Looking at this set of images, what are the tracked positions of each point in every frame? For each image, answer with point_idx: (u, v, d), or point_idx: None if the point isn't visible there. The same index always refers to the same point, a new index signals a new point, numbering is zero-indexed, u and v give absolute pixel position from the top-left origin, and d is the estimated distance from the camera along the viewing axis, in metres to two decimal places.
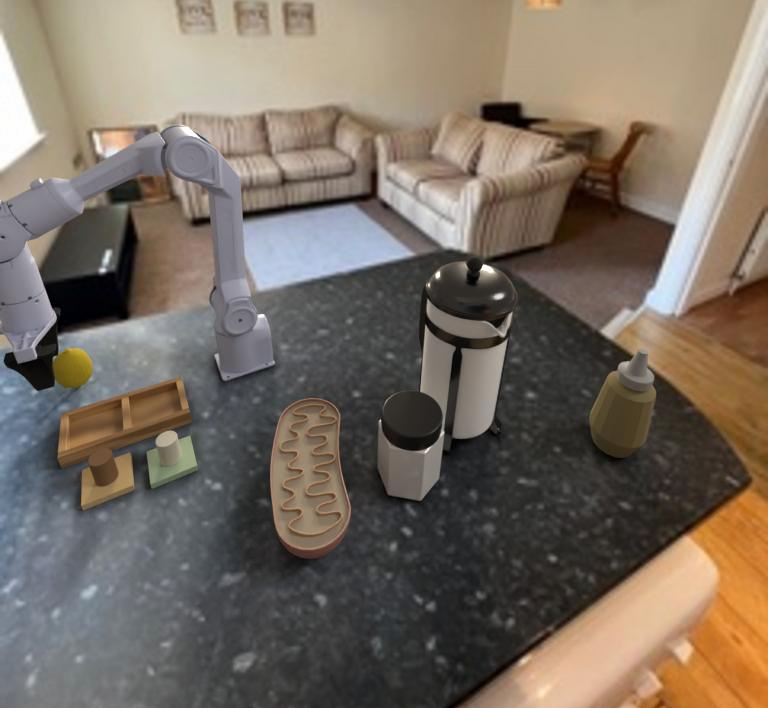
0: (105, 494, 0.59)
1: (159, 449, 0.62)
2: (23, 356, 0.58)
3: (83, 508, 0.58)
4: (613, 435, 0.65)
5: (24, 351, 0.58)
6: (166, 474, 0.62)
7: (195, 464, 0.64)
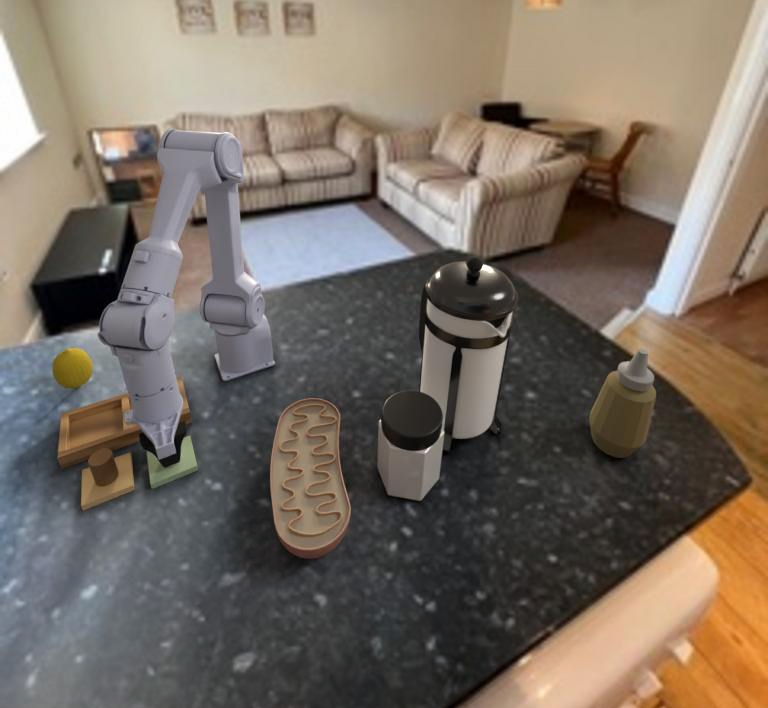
0: (105, 494, 0.59)
1: None
2: (164, 452, 0.55)
3: (83, 508, 0.58)
4: (613, 435, 0.65)
5: (166, 447, 0.55)
6: (166, 474, 0.62)
7: (195, 464, 0.64)
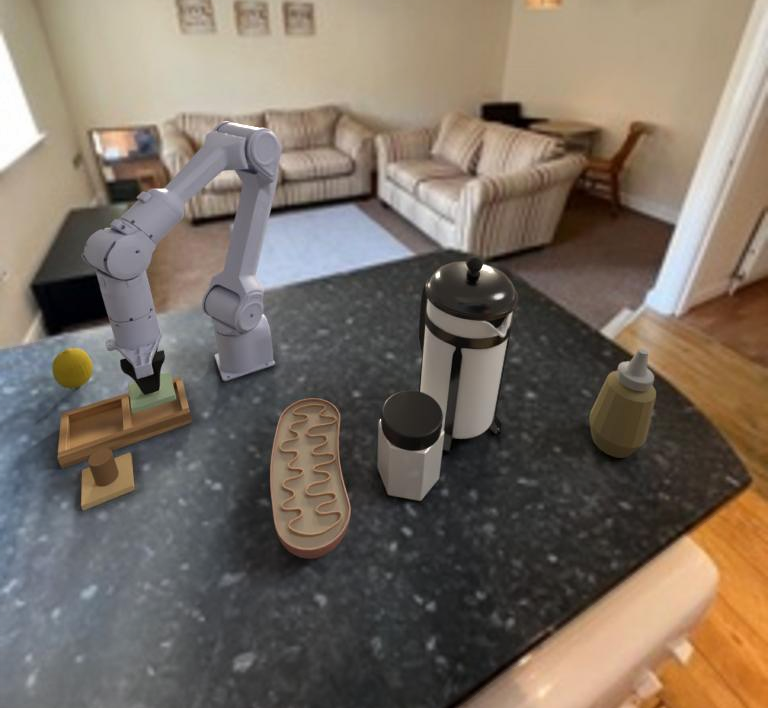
0: (105, 494, 0.59)
1: None
2: (142, 372, 0.59)
3: (83, 508, 0.58)
4: (613, 435, 0.65)
5: (143, 367, 0.59)
6: (146, 401, 0.67)
7: (173, 393, 0.68)
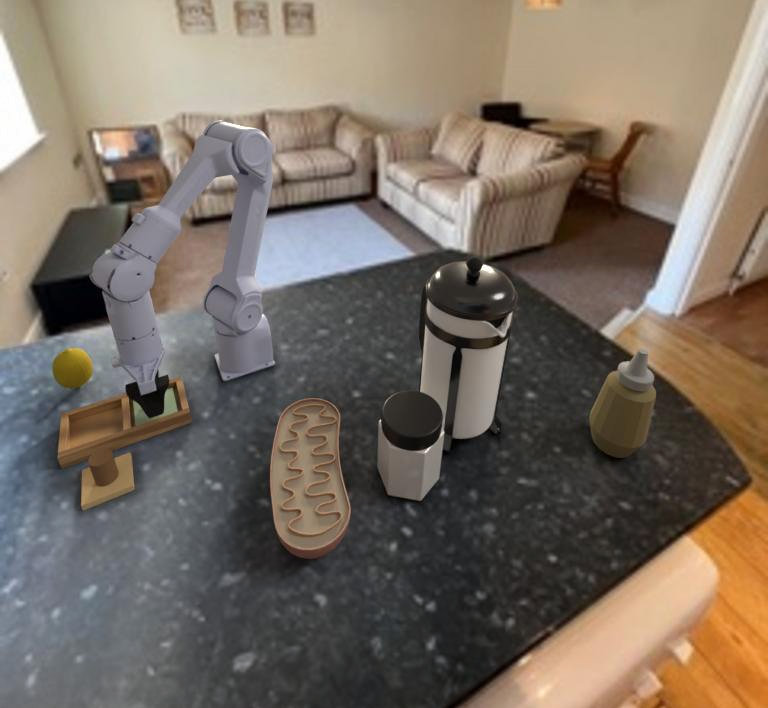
0: (105, 494, 0.59)
1: None
2: (146, 388, 0.62)
3: (83, 508, 0.58)
4: (613, 435, 0.65)
5: (147, 384, 0.62)
6: (150, 418, 0.70)
7: (176, 410, 0.71)
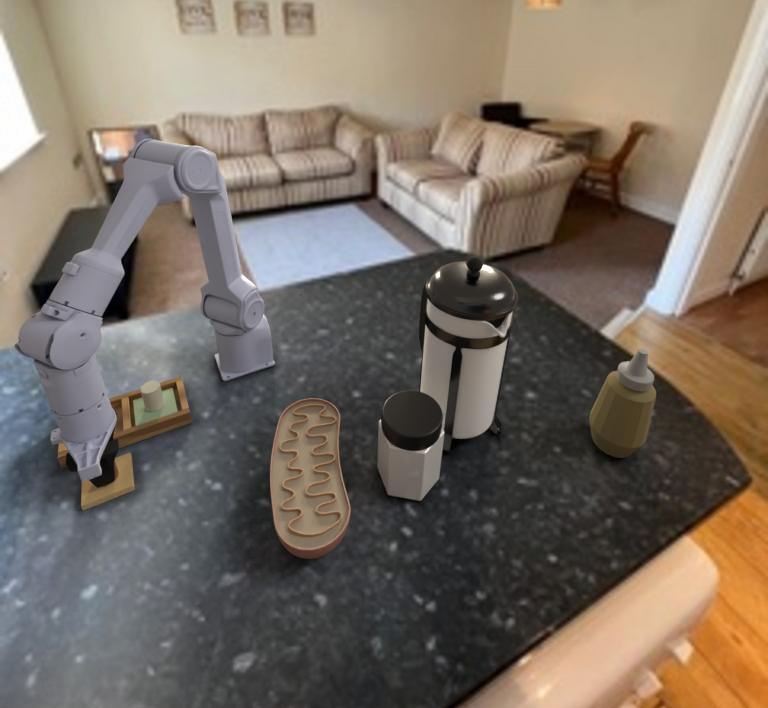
0: (105, 494, 0.59)
1: (143, 395, 0.69)
2: (88, 474, 0.52)
3: (83, 508, 0.58)
4: (613, 435, 0.65)
5: (89, 469, 0.52)
6: (150, 418, 0.70)
7: (176, 410, 0.71)
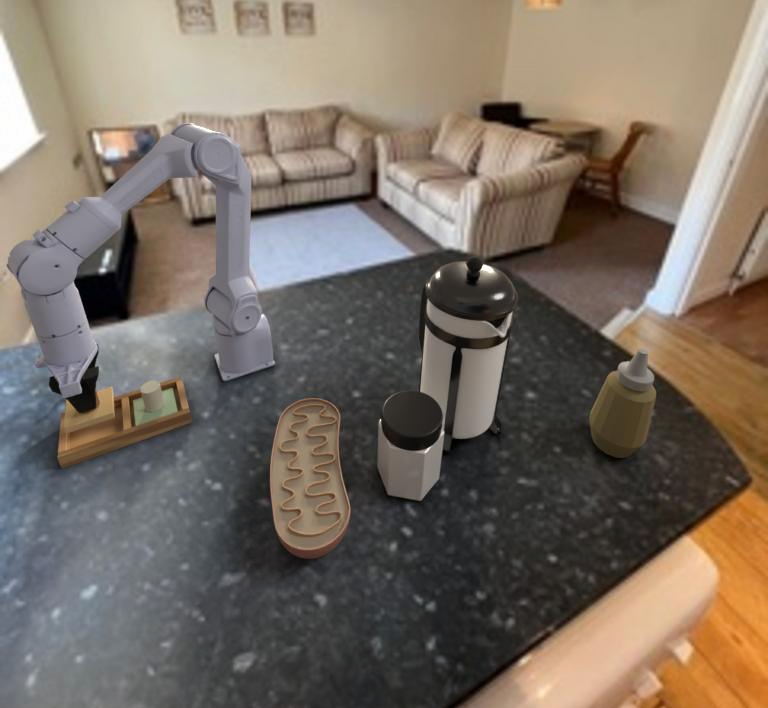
0: (87, 419, 0.63)
1: (143, 395, 0.69)
2: (69, 391, 0.56)
3: (66, 431, 0.62)
4: (613, 435, 0.65)
5: (70, 386, 0.56)
6: (150, 418, 0.70)
7: (176, 410, 0.71)
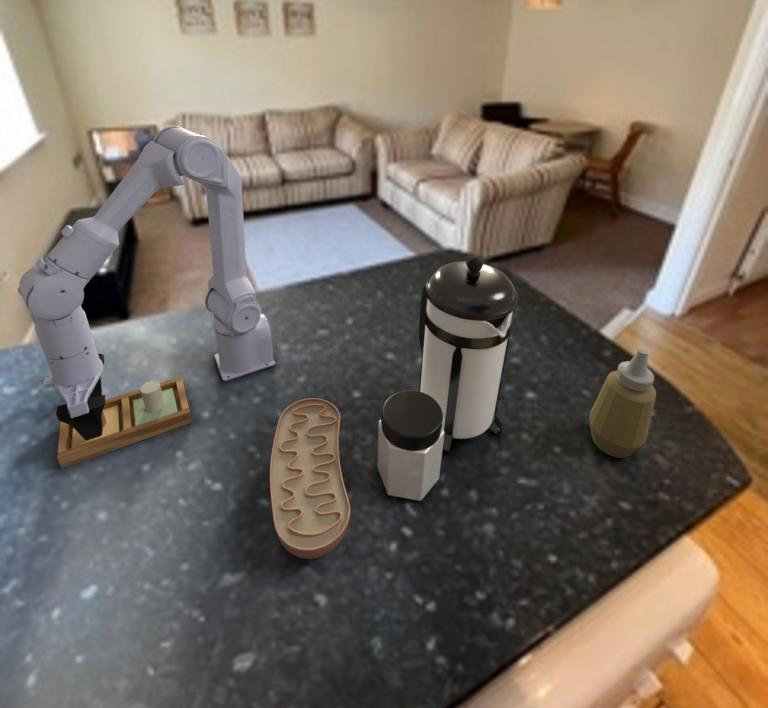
0: (94, 438, 0.66)
1: (143, 395, 0.69)
2: (76, 411, 0.58)
3: None
4: (613, 435, 0.65)
5: (77, 406, 0.58)
6: (150, 418, 0.70)
7: (176, 410, 0.71)
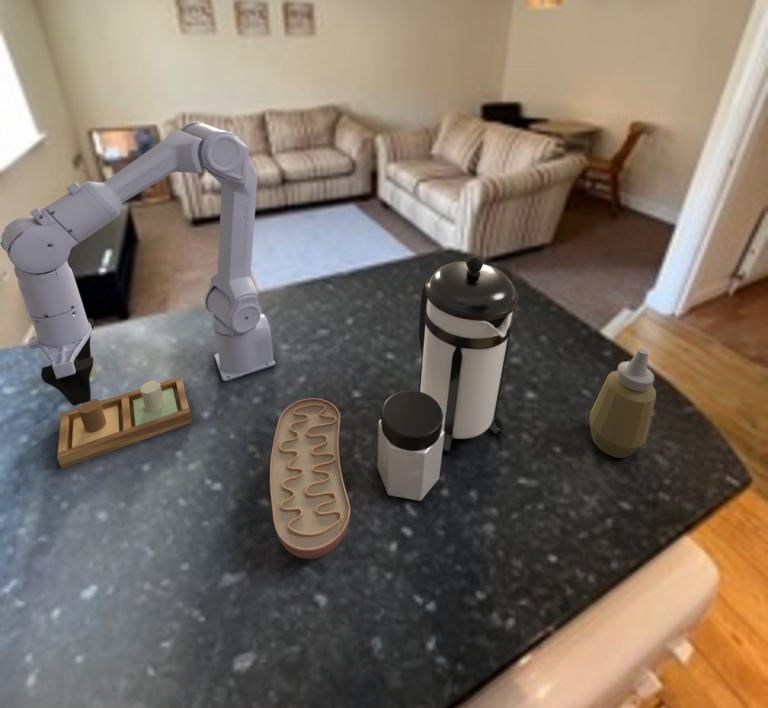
0: (94, 438, 0.66)
1: (143, 395, 0.69)
2: (62, 371, 0.56)
3: None
4: (613, 435, 0.65)
5: (63, 366, 0.55)
6: (150, 418, 0.70)
7: (176, 410, 0.71)
